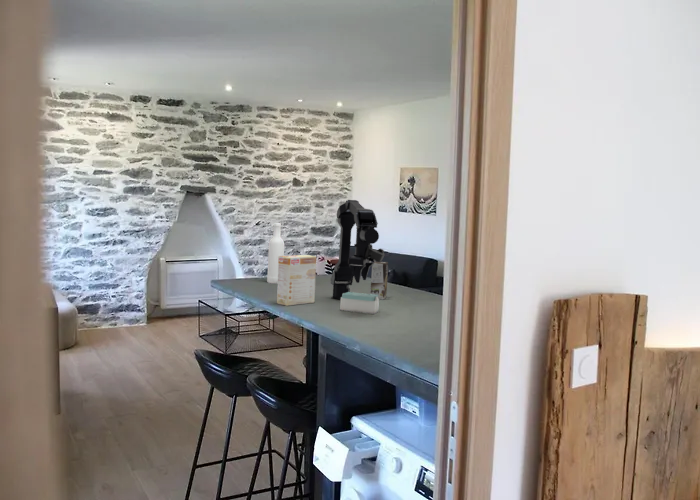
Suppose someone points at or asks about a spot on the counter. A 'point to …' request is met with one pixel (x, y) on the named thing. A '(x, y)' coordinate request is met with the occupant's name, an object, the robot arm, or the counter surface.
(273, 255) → the bottle
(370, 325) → the counter surface
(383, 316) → the counter surface
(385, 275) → the coffee box
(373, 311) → the tub
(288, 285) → the coffeecake box
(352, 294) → the lid
